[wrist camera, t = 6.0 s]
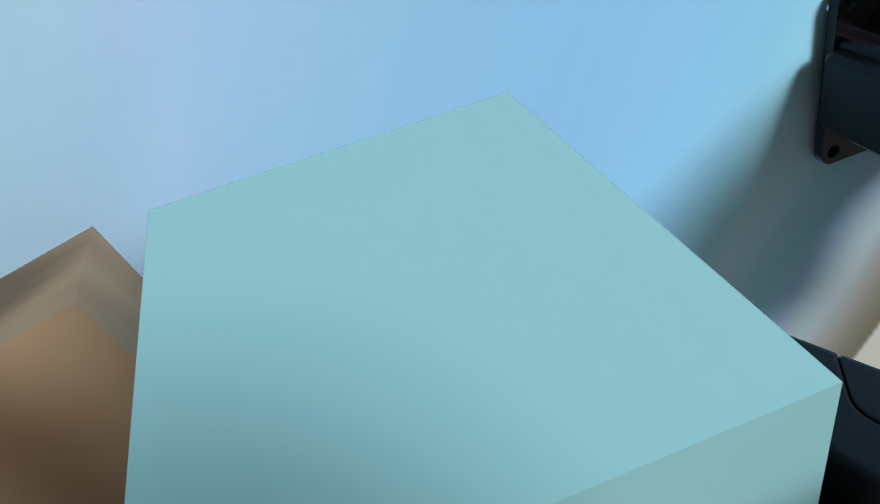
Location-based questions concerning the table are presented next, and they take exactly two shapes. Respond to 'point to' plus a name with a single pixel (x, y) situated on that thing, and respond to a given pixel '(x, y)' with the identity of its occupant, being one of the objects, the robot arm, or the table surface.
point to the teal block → (457, 339)
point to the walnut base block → (68, 374)
